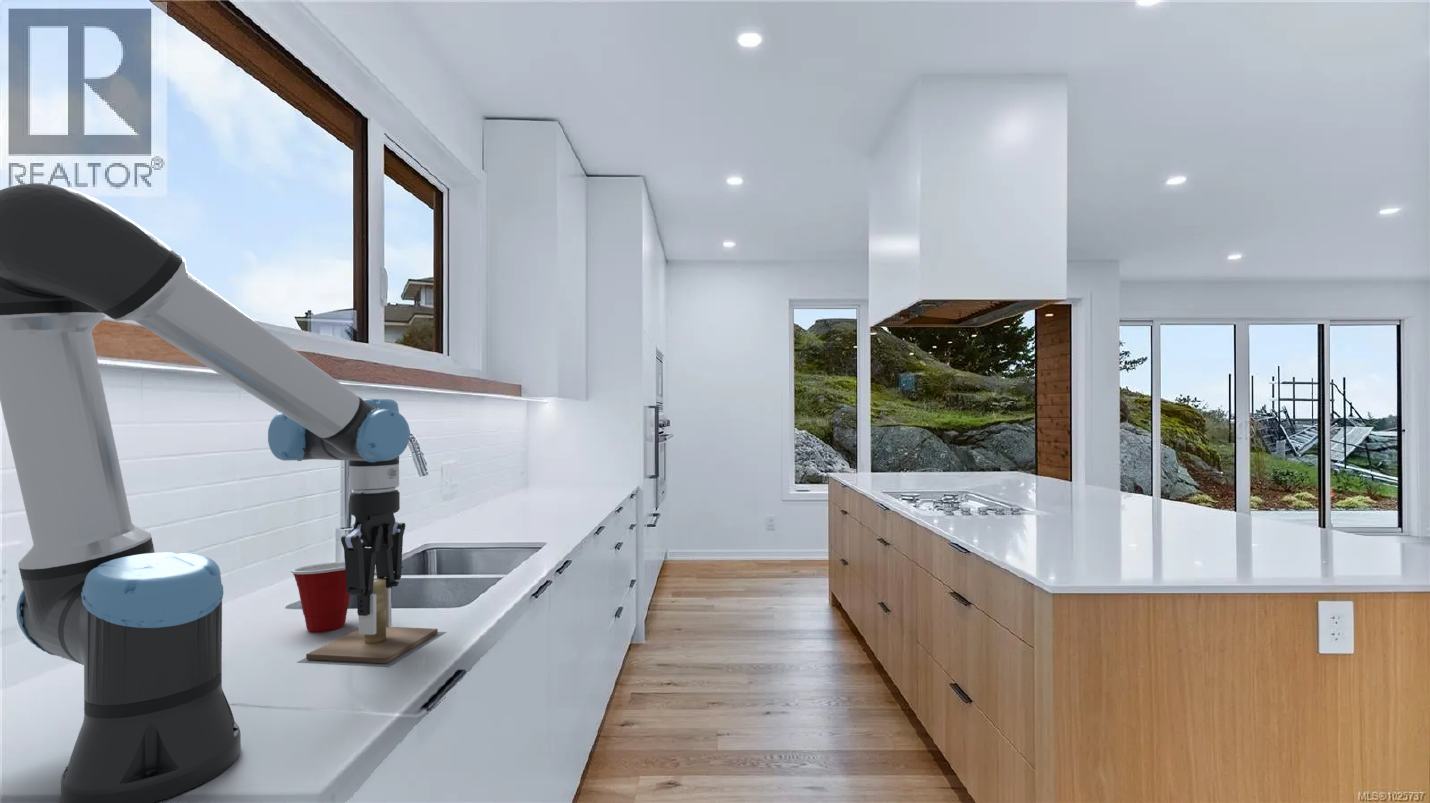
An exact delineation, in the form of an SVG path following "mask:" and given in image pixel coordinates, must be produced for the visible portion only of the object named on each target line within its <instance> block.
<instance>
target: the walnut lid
mask: <svg viewBox="0 0 1430 803" xmlns="http://www.w3.org/2000/svg"><path fill="white" fill-rule="evenodd" d="M365 588H366V587H365ZM372 594H376V634H374V635H367V634H359V628H358V629H356V630H354V631H352V632H350V633H348V634H345V635H344V636H341V637H339V638H337V639H335V640H333V641H331V642H329V643H326V644H324V645H322V646H321V647H318V648H316V649H314V650H313V651H312V650H311V651H310V652H308V653H306V654H305V658H306V659H313V660H332V661H351V662H371V663H388V662H389V661H391V660H393V659H395V658H396V657H398V656H400V655H401V654H403V653H405V652H406V651H408V650H410V649H412V648H413V647H415V646H417V645H418V644H420V643H422V642H424V641H425V640H427V639H429V638H430V637H432V636H434V635H436V634H437V633H438V632H439V631H438V630H439V628H426V627H406V626H405V627H404V626H390V627H386V579H377V578H374V583H373V592H372Z"/></svg>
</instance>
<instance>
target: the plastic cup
mask: <svg viewBox="0 0 1430 803" xmlns="http://www.w3.org/2000/svg"><path fill="white" fill-rule="evenodd" d="M290 573H291V574H292V575H293V576H294V579H295V582H296V587H297V589H298V594H299V599H300V603H301V608H302V614H303V616H304V619H305V620H304V621H305V626H306V627H305V628H306V630H307V631H308V633H313V634H321V633H322V634H323V633H329V632H333V631H336V630H337V631H338V630H340V629H342V628H344V626H345V624H346V620H347V614H348V609H349V605H350V600H351V599H350V598H351V594H347V587H346V570H345V561H334V562H325V563H317V564H310V565H304V566H299V567H296V568H293V569H291V570H290Z"/></svg>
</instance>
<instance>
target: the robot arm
mask: <svg viewBox="0 0 1430 803" xmlns="http://www.w3.org/2000/svg"><path fill="white" fill-rule="evenodd" d="M106 316H107V317H109V318H111V319H113V320H114V321H116V322H117V321H118V322H120V321H134V322H136V323H137V324H139V325H140V326H142V327H144V328H145V329H147V330H148V331H149V332H151V333H154V334H155V335H156V336H158V337H159V338H161V339H163V341H166V342H167V343H169V344H170V345H171V346H173V347H175V348H177V349H179V350H180V351H181V352H183V353H185V354H186V355H187V356H190V357H191V358H193V359H195V360H196V361H197V362H198V363H201V364H202V365H204V366H206V367H207V368H209V369H210V370H212V371H213V372H215V373H217V374H218V375H220V376H222V377H223V378H225V379H226V380H228V381H229V382H231V383H232V384H235V385H236V386H238V387H239V388H240V389H243V390H244V391H245V392H247V393H249V395H251V396H254V397H255V398H256V399H259V400H260V401H261V402H263V403H264V404H266V405H268V406H269V407H271V408H273V409H274V410H276V411H277V412H279V413H277V414H276V415H274V416H273V417H272V419H271V420H270V423H269V426H268V429H267V443H268V447H269V449H270V452H271V453H272V455H273V456H274V458H276V459H278V460H281V461H284V462H285V461H297V462H301V461H306V460H325V461H326V460H328V461H329V460H330V461H331V460H332V461H349V466H348V467H349V472H348V473H349V474H348V476H349V478H348V481H349V482H348V489H350V490H351V491H353V492H350V494H349V514H350V515H351V516H353V517H354V518H355V521H354V524H353V531H351V532H350V533H349V534H347V535H346V534H344V535H342V536H341V537H340V543H341V545H342V547H343V551H344V552H343V553H344V562H345V570H346V587H347V594H350V596H356V600H357V602H356V605H357V607H356V608H357V610H356V611H357V612H356V613H357V616H358V629H359V634H367V635H374V634H376V594H372V592H373V583H374V579H375V572H376V579H386V627H392V603H393V587H398V585H399V581H400V580H401V579H402V566H403V564H402V563H403V547H404V546H403V545H404V544H403V542H404V534H405V530H406V523H405V522H398V521H396V518H395V515H394V514H396V513H397V512H399V511H400V509H401V508H400V505H401V502H400V499H401V498H400V493H401V492H400V491H399V490H398V489H396V488H398V487H399V486H400V456H401V455H402V454H403V453H404V452H405V450H406V449H407V447H408V444H409V442H410V438H411V430H410V426H409V422H408V421H407V420H406V418H405V417H404V416H403V415H402V414H401V413H400V410H399V404H398V402H397V401H396V400H394V399H389V398H362V397H360V396H358V395H357V394H356V393H354V392H353V391H351V390H350V389H349V388H347V387H346V386H345V385H344V384H342V383H341V382H339V381H338V380H336V379H335V378H333V377H332V376H331V375H329V374H328V373H327V372H325V371H324V370H323V369H321V368H320V367H318V366H317V365H316V364H314V363H313V362H312V361H310V360H309V359H307V358H306V357H305V356H304V355H303V354H301V353H300V352H298V351H296V349H294V348H292V346H290V345H288V344H287V343H286V342H284V341H283V340H281V339H280V338H279V337H278V336H276V335H275V334H274V333H272V332H270V330H268V329H266V328H265V327H264V326H262V325H261V324H259V323H258V322H257V321H256V320H254V319H253V318H251V317H250V316H248V315H247V314H246V313H244V312H243V311H242V310H241V309H239V308H238V307H236V305H234V304H232V303H231V302H229V301H228V300H227V299H225V298H223V296H222V295H219V294H218V292H216V291H214V289H211V287H208V286H207V285H206V284H204V282H202V281H200V280H199V279H197V278H196V277H195V276H193V275H192V274H191V273H189V272H188V269H187V264H186V259H185V258H184V256H182V255H181V254H179V253H178V252H176V251H175V250H174V249H172V248H171V247H170V246H168V245H167V244H165V243H164V241H162V240H161V239H159V238H158V237H156V236H155V235H153V234H152V233H151V232H149V231H148V230H146V229H145V228H143V227H142V226H140V225H139V224H138V223H136V222H135V221H133V220H132V219H130V218H128V217H127V216H126V215H124V214H122V213H121V212H119V211H117V209H114V208H113V207H111V206H109V205H107V204H106V203H104V202H102V201H100V200H99V199H97V198H95V197H92V196H89V195H88V194H85V193H82V192H80V191H78V190H75V189H73V188H68V187H63V186H59V185H55V184H54V185H53V184H48V183H47V184H46V183H24V184H17V185H13V186H8V187H5V188H3V189H0V406H1V410H2V416H3V419H4V423H5V428H6V431H7V436H8V440H9V445H10V448H11V453H12V458H13V462H14V466H15V469H16V470H15V471H16V475H17V479H18V483H19V487H20V488H19V489H20V493H21V497H22V501H23V505H24V510H25V513H26V518H27V522H28V527H29V530H30V536H31V539H32V543H33V544H32V547H31V549H29V551H27V553H26V554H25V555H24V556H23V557H22V558H21V559H20V560H19V562H18V563H17V564H18V570H19V574H20V578H21V583H22V586H23V588H22V590H21V592H20V595H19V597H18V600H17V604H16V611H15V612H16V619H17V624H18V626H19V628H20V630H21V632H22V634H24V636H25V637H26V639H27V640H28V642H30V643H31V644H33V645H34V646H35V647H36V648H38V649H40V650H41V651H42V652H44V653H47V654H48V655H51V656H57V657H60V658H61V659H65V660H69V661H72V662H74V663H76V664H80V665H83V700H84V705H83V715H84V716H83V722H82V723H81V724H82V725H81V727H80V730H79V732H78V735H77V737H76V741H75V744H74V746H73V749H72V753H71V756H70V758H69V761H68V764H67V766H66V767H65V770H64V771H63V773H62V775H61V779H60V803H156V802H159V801H162V800H166V799H168V798H171V797H175V796H177V795H179V794H182V793H184V792H186V791H189V790H192V789H194V788H197V787H198V786H200V785H203V783H206V782H208V781H210V780H211V779H213V778H216V777H217V776H218V775H220V774H221V773H223V772H224V771H226V770H227V769H228V768H230V767H231V766H232V765H233V764H234V763H235V762H236V761H237V759H238V758H239V756H240V754H241V751H242V749H241V747H242V746H241V742H242V741H241V740H242V738H241V730H240V727H239V725H238V723H237V722H236V721H235V718H234V714H233V711H232V709H231V706H230V704H229V702H228V699H227V696H226V694H225V692H224V690H223V680H222V679H223V678H222V677H223V675H222V674H223V670H222V669H223V662H222V661H223V660H222V659H223V654H222V653H223V650H222V649H223V598H224V585H223V584H222V576H221V570H220V567H219V565H218V563H217V562H216V561H215V560H213V559H212V558H210V557H208V556H205V555H201V554H198V553H191V552H181V553H175V552H173V551H172V552H171V551H166V552H165V551H164V552H161V551H159V552H155V548H154V543H153V537H152V535H151V533H150V532H148V531H146V530H145V529H143V528H140V527H138V526H136V525H134V524H133V522H132V517H131V514H130V509H129V508H130V507H129V502H128V498H127V493H126V489H125V488H126V487H125V485H124V484H125V483H124V479H123V475H122V471H121V470H122V469H121V464H120V461H119V456H118V451H117V446H116V442H115V441H116V440H115V437H114V433H113V428H112V422H111V417H110V413H109V409H108V404H107V399H106V395H105V390H104V385H103V380H102V375H101V371H100V366H99V361H98V356H97V351H96V347H95V343H94V337H93V333H92V332H93V330H94V329H95V327H96V326H98V325H99V323H100V322H102V321H103V320H104V319H105V318H106ZM365 587H366V588H365Z"/></svg>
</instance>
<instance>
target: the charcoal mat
mask: <svg viewBox="0 0 1430 803" xmlns="http://www.w3.org/2000/svg"><path fill="white" fill-rule="evenodd" d="M446 633H447V631H438V633H437V634H436V635H434V636H432V637H430V638H429V639H427V640H425V641H424V642H422V643H420V644H418V645H417V646H415V647H413V648H412V649H410V650H408V651H406V652H405V653H403V654H401V655H400V656H398V657H396V658H395V659H393V660H391V661H389V662H388V663H371V662H351V661H332V660H313V659H306V657H304V658H302V659H301V660H298V661H296V663H300V664H319V665H320V664H321V665H335V666H336V665H338V666H357V667H358V666H360V667H375V668H376V667H379V668H390V667H391V666H393V665H395V664H396V663H399V662H400V661H402V660H403V659H405V658H406V657H408V656H410V655H411V654H413V653H415V652H417V651H418V650H419V649H423V647H425V646H426V645H428V644H430V643H431V642H433V641H434V640H437V638H440V637H441V636H443V635H444V634H446Z"/></svg>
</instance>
